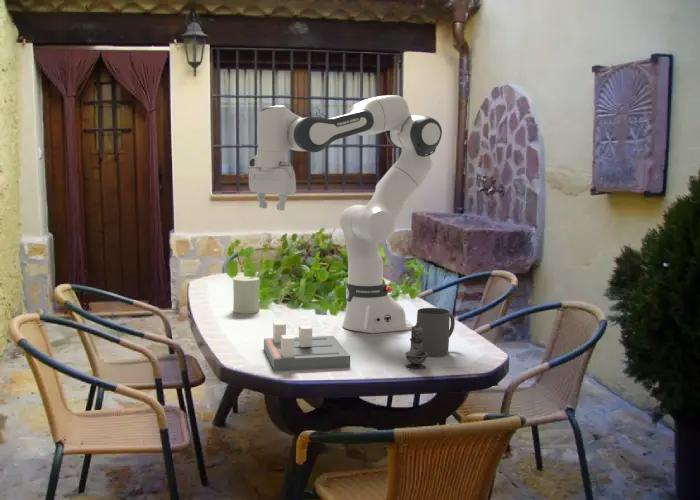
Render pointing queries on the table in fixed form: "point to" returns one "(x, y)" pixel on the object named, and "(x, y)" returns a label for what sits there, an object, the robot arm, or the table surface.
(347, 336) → the table surface
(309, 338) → the handle
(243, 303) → the can
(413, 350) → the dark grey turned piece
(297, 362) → the breaker panel
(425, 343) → the mug
